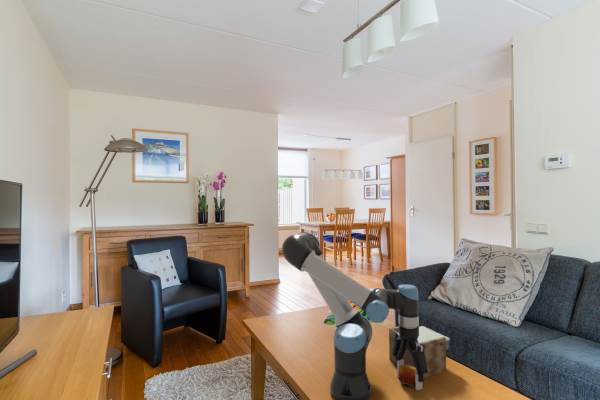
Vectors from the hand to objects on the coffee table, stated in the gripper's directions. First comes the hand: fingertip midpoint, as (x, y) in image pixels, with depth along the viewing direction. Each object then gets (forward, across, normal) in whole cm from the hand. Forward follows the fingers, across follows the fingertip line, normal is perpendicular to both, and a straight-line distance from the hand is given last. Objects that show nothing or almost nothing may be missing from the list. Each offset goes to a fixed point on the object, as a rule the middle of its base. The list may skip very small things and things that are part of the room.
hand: (409, 382), depth 127 cm
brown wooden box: (0, +9, -13) cm, 15 cm away
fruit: (0, 0, 0) cm, 0 cm away
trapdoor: (-7, +9, -15) cm, 19 cm away
